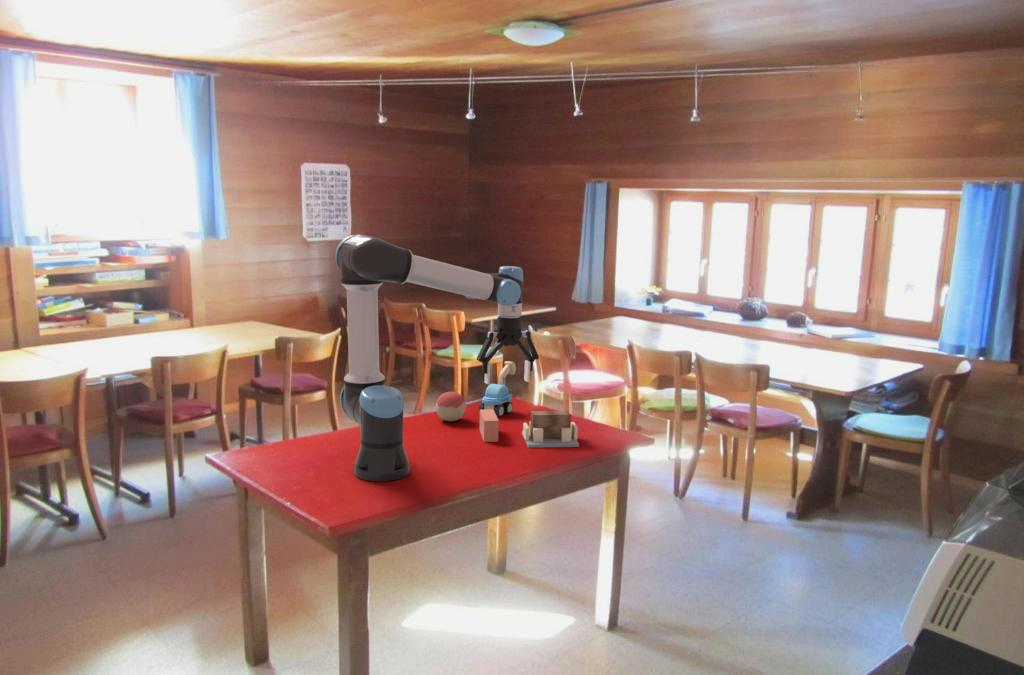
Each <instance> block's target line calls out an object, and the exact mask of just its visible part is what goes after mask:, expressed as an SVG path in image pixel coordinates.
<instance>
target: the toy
mask: <svg viewBox="0 0 1024 675" xmlns="http://www.w3.org/2000/svg"><path fill="white" fill-rule="evenodd" d="M466 409H467V406H466V400H465V398H464V397H463V396H462V395H461V394H460V393H459V392H457V391H446V392H444V393H442V394H441V395H439V397H438V398H437V400H436V404H435V410H436V413H437V416H438V417H439V418H440V419H442V420H443V421H447V422H455V421H458V420H460V419H462V418H463V416H464V414H465V412H466Z"/></svg>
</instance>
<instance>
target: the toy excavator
mask: <svg viewBox="0 0 1024 675" xmlns="http://www.w3.org/2000/svg"><path fill="white" fill-rule="evenodd" d="M516 368H517V366H516V363H515V362H514V361H507V360H506V361H504V367H503V368H502V369H501V370H500V372H499V375H498V383H490V384H488V386H487V387H486V389H485V394H484V396H483V397H482V400H481V402H480V403H479V404H478V412H479V413H480V410H483V409H493V410H494V412H495V414H496V416H497V417H499V418H500V417H501V416H503V415H504V413H507V414H511V413H512V411H513V408H514V407H513V406H514V404H513V402H512V400H513V394H511V393H509V387H508V386H506V376H508V375H515V374H516V371H517V369H516Z"/></svg>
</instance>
